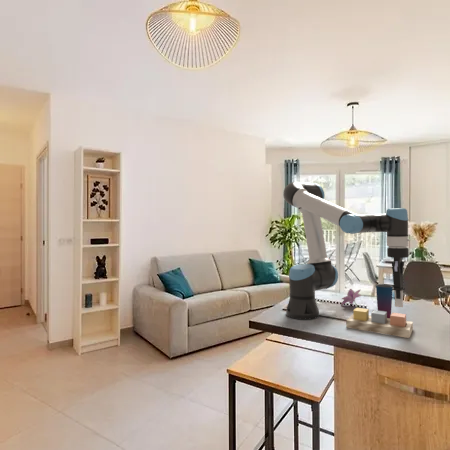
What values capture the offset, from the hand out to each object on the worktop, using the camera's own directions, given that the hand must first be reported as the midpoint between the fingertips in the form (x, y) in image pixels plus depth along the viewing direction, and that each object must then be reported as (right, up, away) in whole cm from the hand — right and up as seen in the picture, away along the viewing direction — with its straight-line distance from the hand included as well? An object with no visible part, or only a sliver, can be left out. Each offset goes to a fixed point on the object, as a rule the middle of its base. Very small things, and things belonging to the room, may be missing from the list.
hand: (398, 306), depth 130 cm
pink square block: (0, -8, 0) cm, 8 cm away
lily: (-4, -10, +38) cm, 40 cm away
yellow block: (-11, -8, +9) cm, 16 cm away
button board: (-6, -10, +4) cm, 12 cm away
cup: (+2, -10, +17) cm, 19 cm away
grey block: (-6, -8, +4) cm, 10 cm away
